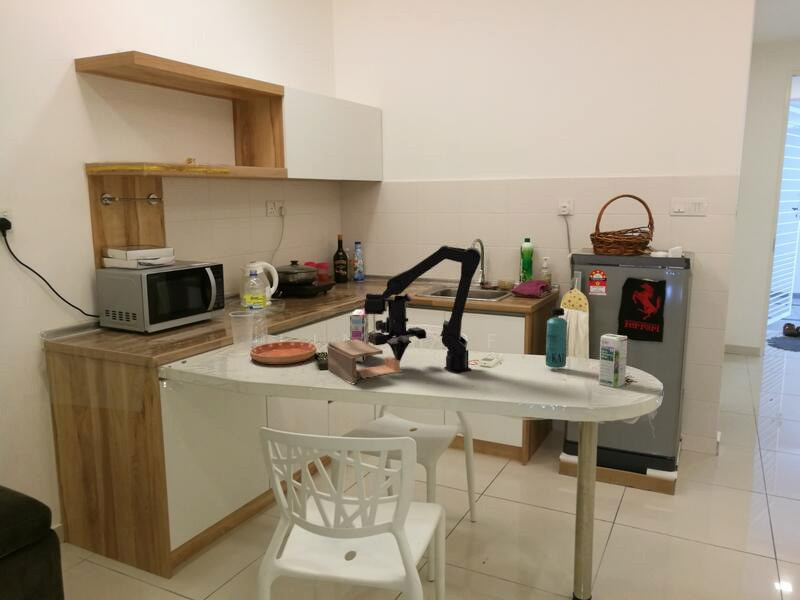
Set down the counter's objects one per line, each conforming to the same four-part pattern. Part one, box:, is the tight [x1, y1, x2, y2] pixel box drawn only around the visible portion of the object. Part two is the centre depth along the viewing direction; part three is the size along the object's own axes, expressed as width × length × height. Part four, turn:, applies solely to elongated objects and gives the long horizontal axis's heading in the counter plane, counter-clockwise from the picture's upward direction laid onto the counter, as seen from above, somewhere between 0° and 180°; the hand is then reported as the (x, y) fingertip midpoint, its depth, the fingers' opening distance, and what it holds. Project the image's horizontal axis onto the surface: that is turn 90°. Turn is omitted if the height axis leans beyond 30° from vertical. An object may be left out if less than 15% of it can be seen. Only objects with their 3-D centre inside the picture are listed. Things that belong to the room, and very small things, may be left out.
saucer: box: [249, 340, 317, 365], centre depth 219 cm, size 23×23×4 cm
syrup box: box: [598, 333, 628, 389], centre depth 182 cm, size 6×6×14 cm
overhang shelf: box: [326, 339, 384, 384], centre depth 196 cm, size 10×18×9 cm, turn 30°
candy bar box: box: [349, 309, 370, 363], centre depth 215 cm, size 11×5×16 cm, turn 174°
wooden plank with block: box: [356, 355, 403, 379], centre depth 200 cm, size 14×9×4 cm, turn 119°
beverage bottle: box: [544, 307, 568, 369], centre depth 197 cm, size 6×7×20 cm
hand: (398, 361), depth 203 cm, fingers closed
